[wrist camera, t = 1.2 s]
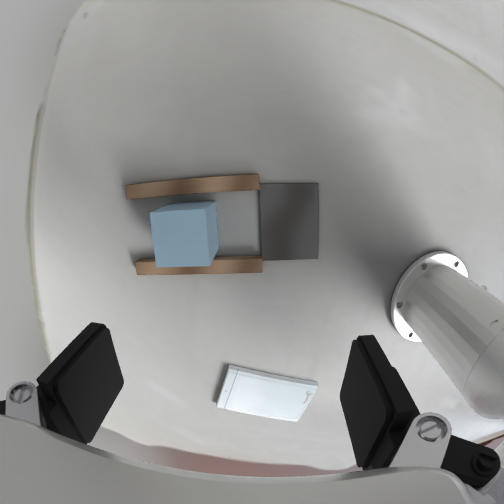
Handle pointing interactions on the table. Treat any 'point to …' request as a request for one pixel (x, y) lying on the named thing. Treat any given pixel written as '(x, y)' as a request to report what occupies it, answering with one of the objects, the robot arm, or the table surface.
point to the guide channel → (271, 213)
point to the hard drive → (265, 394)
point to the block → (185, 234)
